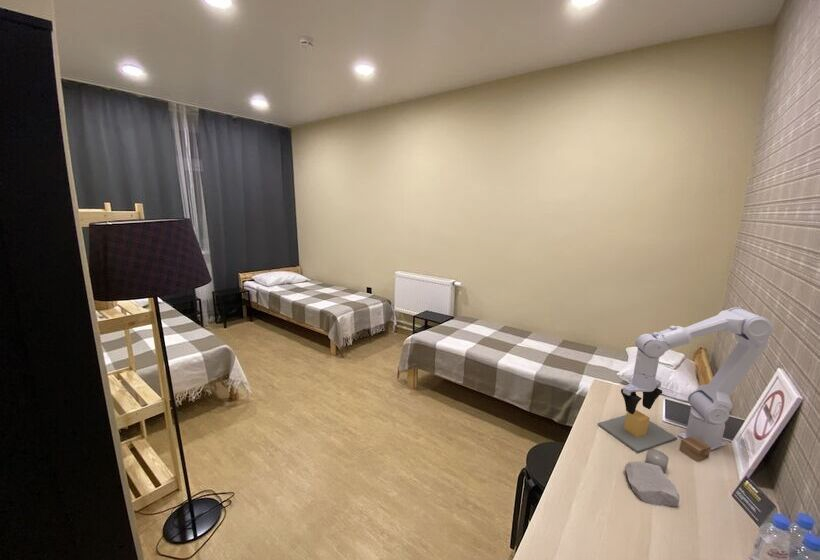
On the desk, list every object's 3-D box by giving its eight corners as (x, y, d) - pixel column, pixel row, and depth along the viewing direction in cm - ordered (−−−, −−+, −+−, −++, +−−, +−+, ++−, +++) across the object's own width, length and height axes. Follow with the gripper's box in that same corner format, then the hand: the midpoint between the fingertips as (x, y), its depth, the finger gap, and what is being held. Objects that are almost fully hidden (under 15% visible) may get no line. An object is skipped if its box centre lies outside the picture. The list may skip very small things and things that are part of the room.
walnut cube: (690, 447, 104) (692, 436, 104) (708, 458, 100) (711, 447, 99) (678, 450, 103) (681, 439, 102) (696, 462, 98) (699, 450, 97)
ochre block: (633, 425, 113) (636, 409, 112) (646, 433, 109) (649, 417, 107) (623, 428, 111) (626, 412, 110) (636, 437, 107) (639, 420, 106)
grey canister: (650, 458, 100) (653, 446, 99) (669, 470, 95) (672, 458, 94) (641, 464, 97) (643, 452, 96) (660, 476, 93) (662, 464, 92)
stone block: (639, 509, 85) (683, 509, 83) (637, 493, 84) (682, 492, 82) (619, 474, 96) (657, 473, 95) (617, 459, 96) (656, 458, 94)
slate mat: (634, 414, 120) (635, 412, 120) (676, 439, 108) (677, 437, 107) (597, 425, 114) (597, 423, 114) (637, 453, 101) (637, 451, 101)
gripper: (648, 362, 112) (641, 398, 115) (616, 369, 107) (610, 407, 110) (670, 372, 105) (663, 410, 108) (638, 380, 100) (631, 420, 103)
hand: (638, 409), depth 109 cm, fingers open, 7 cm apart
